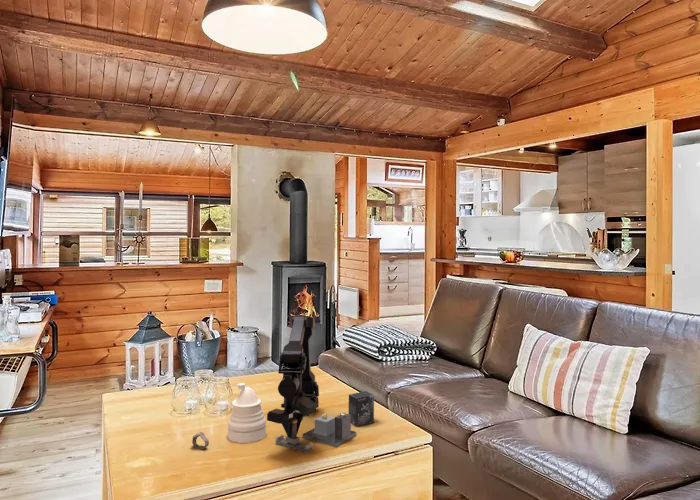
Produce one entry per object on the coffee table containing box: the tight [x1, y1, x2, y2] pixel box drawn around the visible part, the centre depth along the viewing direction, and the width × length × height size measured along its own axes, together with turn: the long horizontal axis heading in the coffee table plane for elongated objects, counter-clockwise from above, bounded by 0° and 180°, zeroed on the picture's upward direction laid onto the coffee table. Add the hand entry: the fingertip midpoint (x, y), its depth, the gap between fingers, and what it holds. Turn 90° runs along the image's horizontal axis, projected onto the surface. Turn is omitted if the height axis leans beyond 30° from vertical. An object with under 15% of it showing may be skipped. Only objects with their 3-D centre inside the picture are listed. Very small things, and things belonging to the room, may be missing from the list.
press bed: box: [301, 411, 357, 448], centre depth 175 cm, size 14×12×9 cm
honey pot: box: [227, 382, 267, 444], centre depth 176 cm, size 13×13×18 cm
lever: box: [285, 419, 301, 444], centre depth 167 cm, size 4×3×7 cm
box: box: [348, 390, 375, 428], centre depth 188 cm, size 8×6×11 cm
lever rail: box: [275, 434, 313, 454], centre depth 167 cm, size 13×3×2 cm, turn 56°
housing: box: [314, 413, 335, 435], centre depth 176 cm, size 5×5×6 cm
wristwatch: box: [191, 431, 210, 450], centre depth 166 cm, size 4×6×5 cm, turn 60°
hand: (292, 435), depth 167 cm, fingers closed on lever, 3 cm apart
